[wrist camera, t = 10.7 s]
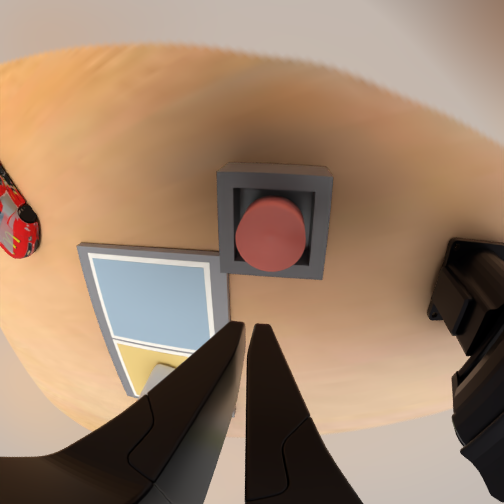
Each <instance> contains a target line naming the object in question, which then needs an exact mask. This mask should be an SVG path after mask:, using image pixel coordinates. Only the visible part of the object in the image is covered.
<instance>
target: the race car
mask: <svg viewBox="0 0 504 504" xmlns="http://www.w3.org/2000/svg"><path fill="white" fill-rule="evenodd" d="M24 204H25V201H24V199H23V198H22V197H21V195H20V194H19V192H18V191H17V189H16V188H15V186H14V185H13V183H12V182H11V180H10V179H9V177H8V176H7V174H6V173H5V171H4V169H3V168H2V166H1V165H0V246H1V247H2V248H3V249H4V250H5V252H6V253H7V254H9V255H10V256H11V257H13V258H18V259H21V258H25V257H29V256H30V255H31V254H32V253H34V252H35V250H36V249H37V246H38V242H39V229H38V223H37V222H35V220H36V218H37V215H36V213H34V211H33V210H32V208H31V206H28V205H24ZM34 222H35V223H34Z"/></svg>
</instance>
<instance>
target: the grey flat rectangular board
mask: <svg viewBox="0 0 504 504" xmlns="http://www.w3.org/2000/svg"><path fill="white" fill-rule="evenodd" d="M77 250H78V254H79V258H80V262H81V266H82V270H83V274H84V278H85V281H86V285H87V288H88V292H89V295H90V298H91V302H92V305H93V308H94V311H95V314H96V317H97V320H98V323H99V326H100V329H101V332H102V335H103V337H104V340H105V343H106V345H107V348H108V351H109V353H110V356H111V358H112V361H113V363H114V366H115V368H116V371H117V373H118V375H119V378H120V380H121V382H122V384H123V387H124V389H125V391H126V393H127V396H131V397H134V398H139V396H140V394H141V392H142V390H143V388H144V386H145V384H146V382H147V380H148V378H149V376H150V374H151V372H152V370H153V369H154V367H155V366H156V365H157V364H163V365H166V366H169V367H172V368H175V369H176V368H177V367H178V366H179V365H180V364H181V363H183V362H184V361H185V360H186V359H187V358H188V357H189V356H191V355H192V354H193V353H194V352H195V351H196V350H198V349H199V348H200V347H201V346H202V345H203V344H204V343H206V342H207V341H208V340H209V339H210V338H211V337H212V336H213V335H215V334H216V333H217V332H218V331H219V330H220V329H221V328H222V327H224V326H225V325H226V324H227V323H228V322H230V300H229V273H220V256H219V252H212V251H197V250H182V249H167V248H152V247H137V246H122V245H107V244H92V243H80V244H78V245H77ZM232 417H235V408H234V411H233V415H232Z"/></svg>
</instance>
